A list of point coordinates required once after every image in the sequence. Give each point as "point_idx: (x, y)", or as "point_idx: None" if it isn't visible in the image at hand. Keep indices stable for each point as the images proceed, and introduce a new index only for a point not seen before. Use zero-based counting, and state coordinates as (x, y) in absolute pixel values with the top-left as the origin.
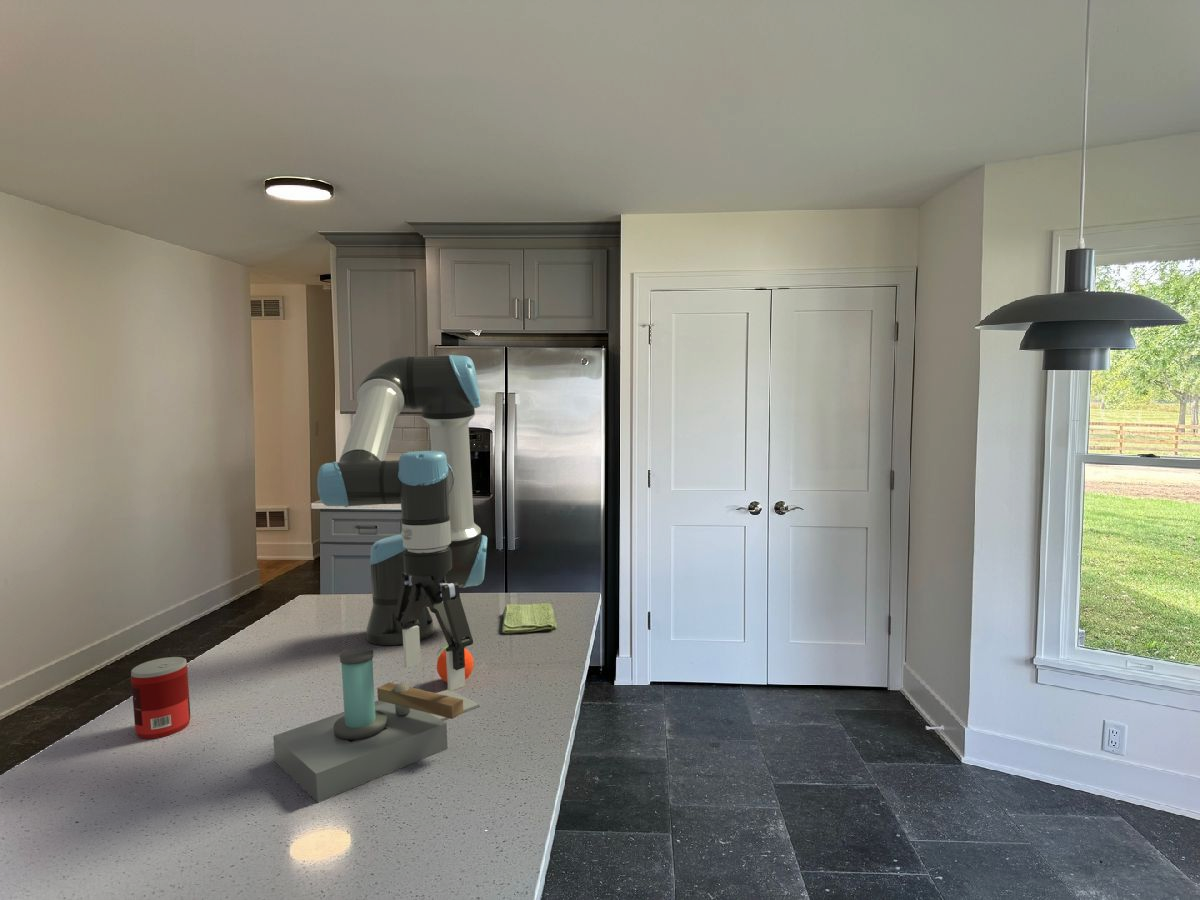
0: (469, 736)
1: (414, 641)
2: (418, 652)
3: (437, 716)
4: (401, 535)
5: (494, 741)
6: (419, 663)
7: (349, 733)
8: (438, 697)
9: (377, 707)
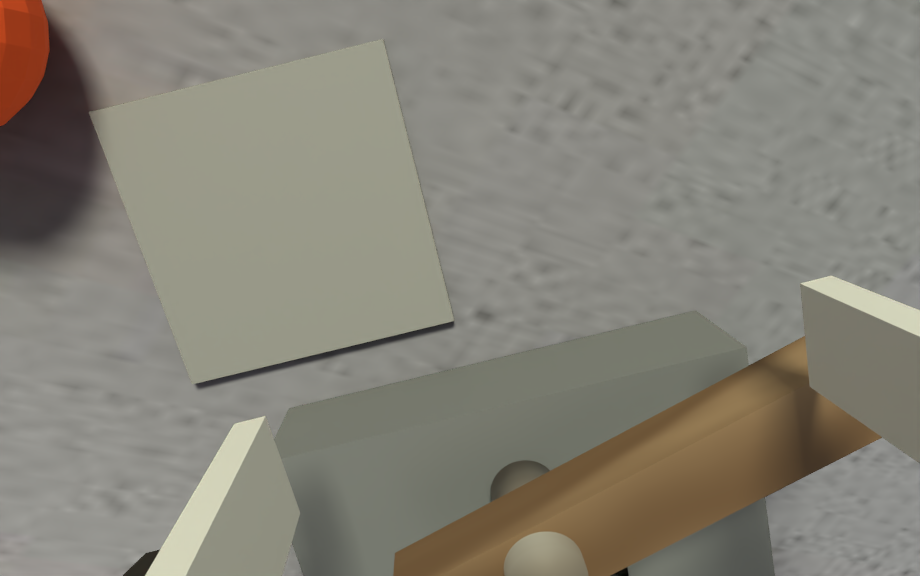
0: (655, 199)
1: (228, 574)
2: (248, 477)
3: (406, 268)
4: None
5: (768, 123)
6: (268, 428)
7: None
8: (792, 430)
9: (376, 562)
